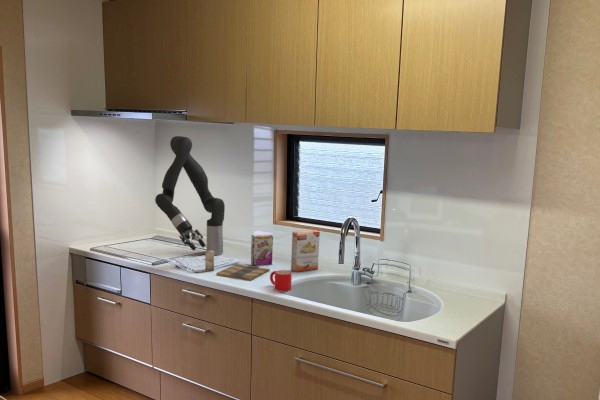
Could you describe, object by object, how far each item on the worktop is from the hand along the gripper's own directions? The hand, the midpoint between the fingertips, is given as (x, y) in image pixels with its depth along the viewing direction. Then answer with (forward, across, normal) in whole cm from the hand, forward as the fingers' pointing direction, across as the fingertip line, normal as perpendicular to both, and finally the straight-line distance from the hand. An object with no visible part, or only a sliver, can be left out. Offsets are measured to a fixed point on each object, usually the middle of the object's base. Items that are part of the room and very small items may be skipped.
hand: (199, 247), depth 279 cm
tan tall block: (+12, 0, +4) cm, 13 cm away
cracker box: (+43, +26, -27) cm, 57 cm away
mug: (+44, -9, -28) cm, 53 cm away
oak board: (+25, +4, -9) cm, 27 cm away
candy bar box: (+25, +24, -9) cm, 36 cm away
